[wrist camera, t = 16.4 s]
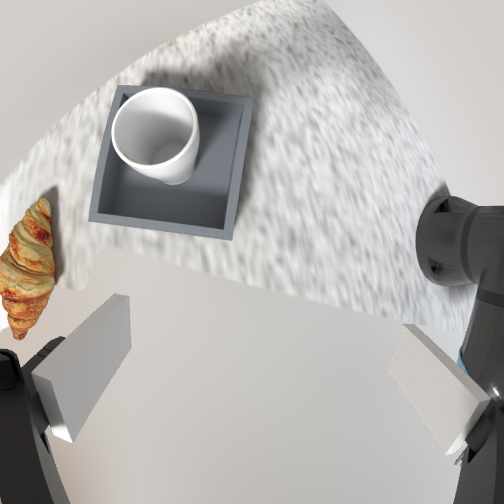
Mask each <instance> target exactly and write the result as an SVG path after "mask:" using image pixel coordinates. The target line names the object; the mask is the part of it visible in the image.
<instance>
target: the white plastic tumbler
mask: <svg viewBox="0 0 504 504" xmlns="http://www.w3.org/2000/svg"><path fill="white" fill-rule="evenodd" d="M111 134H112V142H113V146H114V148H115V150H116V152H117V153H118V155H119V156H120V157H121V158H122V159H123V160H124V161H125V162H126V163H127V164H128V165H129V166H130V167H131V168H133V169H134V170H135V171H137V172H139V173H140V174H142V175H145V176H147V177H150V178H153V179H156V180H159V181H161V182H163V183H165V184H168V185H178V184H181V183H183V182H185V181H187V180H188V179H189V178H190V177H191V176H192V174H193V173H194V170H195V167H196V157H197V153H198V148H199V142H200V130H199V123H198V118H197V114H196V111H195V108H194V106H193V104H192V103H191V102H190V100H189V99H188V98H187V97H186V96H185V95H183V94H182V93H180V92H178V91H176V90H173V89H170V88H164V87H156V88H150V89H146V90H143V91H141V92H138V93H137V94H135V95H133V96H132V97H130V98H129V99H128V100H127V101H126V102H125V103H124V104H123V105H122V106H121V107H120V109H119V110H118V112H117V114H116V116H115V118H114V121H113V125H112V133H111Z"/></svg>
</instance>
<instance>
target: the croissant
mask: <svg viewBox="0 0 504 504" xmlns="http://www.w3.org/2000/svg"><path fill="white" fill-rule="evenodd" d="M50 220H51V206H50V203H49V201H48V200H47V199H46V198H41V199H40V200H39V201H38V202H36V203H35V204H34V206H33V205H32V206H31V207H30V208H29V209H28V210H27V211H26V213H25V216H24V218H23V219H22V221H19V222H18V223H17V224H16V225H15V226H14V228H13V230H12V231H11V233H10V234H9V241H10V242H9V244H8V247H7V248H6V250H5V251H4V253H3V254H2V255H1V256H0V295H1V296H2V305H3V307H4V309H5V310H6V311H7V312H8V317H7V319H8V323H9V325H10V327H11V329H12V331H13V336H14V338H15V339H17V340H22V339H23V338H24V337H25V336H26V334H27V331H28V329H29V328H31V327H32V326H34V325H35V324H36V322H37V320H38V318H39V316H40V315H41V313H42V311H43V309H44V308H45V307H46V305H47V303H48V299H49V296H50V294H51V292H52V290H53V289H54V286H55V280H54V274H55V262H54V260H53V254H52V252H53V251H52V250H51V246H52V245H53V242H52V234H51V230H50V229H51V227H50V225H49V224H50Z"/></svg>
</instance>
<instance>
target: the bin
mask: <svg viewBox="0 0 504 504" xmlns="http://www.w3.org/2000/svg"><path fill="white" fill-rule="evenodd" d="M150 88H156V87H154V86H130V85H118V86H117V89H116V93H115V96H114V99H113V103H112V106H111V109H110V113H109V117H108V120H107V124H106V128H105V132H104V136H103V140H102V145H101V149H100V154H99V159H98V163H97V169H96V174H95V179H94V185H93V191H92V198H91V204H90V212H89V220H88V221H89V222H97V223H105V224H112V225H120V226H128V227H135V228H143V229H150V230H158V231H165V232H172V233H180V234H187V235H195V236H202V237H209V238H216V239H223V240H231V241H232V237H233V230H234V224H235V217H236V210H237V204H238V197H239V191H240V184H241V178H242V171H243V165H244V159H245V153H246V147H247V141H248V135H249V129H250V123H251V117H252V111H253V105H254V99H252V98H246V97H240V96H234V95H228V94H222V93H215V92H207V91H199V90H190V89H180V88H170V89H173V90H176V91H178V92H180V93H182V94H183V95H185V96H186V97H187V98H188V99H189V100H190V102H191V103H192V104H193V106H194V108H195V111H196V114H197V118H198V123H199V130H200V142H199V148H198V153H197V157H196V167H195V170H194V173H193V174H192V176H191V177H190V178H189V179H188V180H187V181H185V182H183V183H181V184H178V185H168V184H165V183H163V182H161V181H159V180H156V179H153V178H150V177H147V176H145V175H142V174H140V173H139V172H137V171H135V170H134V169H133V168H131V167H130V166H129V165H128V164H127V163H126V162H125V161H124V160H123V159H122V158H121V157H120V156H119V155H118V153H117V152H116V150H115V148H114V146H113V142H112V134H111V133H112V125H113V121H114V118H115V116H116V114H117V112H118V110H119V109H120V107H121V106H122V105H123V104H124V103H125V102H126V101H127V100H128V99H129V98H130V97H132V96H133V95H135V94H137V93H138V92H141V91H143V90H146V89H150ZM164 88H168V87H164Z"/></svg>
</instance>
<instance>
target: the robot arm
mask: <svg viewBox="0 0 504 504" xmlns="http://www.w3.org/2000/svg"><path fill="white" fill-rule="evenodd" d="M416 252H417V258H418V262H419V265H420V268H421V270H422V272H423V273H424V275H425V276H426V278H427V279H428V280H430V281H431V282H433V283H435V284H438V285H441V286H445V287H453V286H458V285H464V284H469V283H476V284H478V289H477V294H476V297H475V302H474V306H473V310H472V314H471V318H470V321H469V325H468V328H467V332H466V335H465V338H464V341H463V344H462V346H461V348H460V350H459V357H458V360H457V364H456V363H455V362H454V361H453V360H452V359H451V358H450V357H449V356H447V354H446V353H445V352H444V351H443V350H442V349H440V348H439V347H438V346H437V345H436V344H435V343H434V342H433V341H432V340H431V339H430V338H429V337H428V336H426V335H425V334H424V333H423V332H422V331H421V330H420V329H419V328H418V327H417V326H416V325H414V324H403V325H402V328H401V331H400V334H399V337H398V340H397V343H396V345H395V348H394V351H393V354H392V356H391V359H390V362H389V364H388V367H387V371H388V373H389V374H390V376H391V377H392V378H393V380H394V381H395V382H396V384H397V386H398V387H399V388H400V390H401V391H402V393H403V394H404V396H405V397H406V399H407V400H408V402H409V403H410V405H411V406H412V408H413V409H414V410H415V412H416V413H417V415H418V416H419V418H420V419H421V421H422V422H423V424H424V425H425V427H426V428H427V430H428V431H429V433H430V435H431V436H432V438H433V439H434V441H435V442H436V444H437V445H438V447H439V448H440V450H441V452H442V453H443V454H444V455H447V454H450V453H453V452H456V451H458V449H459V448H460V446H461V445H462V444H463V442H464V441H466V442H467V444H468V446H467V447H466V448H465V450H464V451H463V452H462V454H461V455H460V456H459V458H458V459H457V460H456V462H455V465H457V463H458V462H459V461H460V460H462V463H461V464H460V466H461V472H460V477H459V481H458V486H457V491H456V495H455V499H454V503H453V504H504V206H477V205H475V204H473V203H471V202H468V201H466V200H464V199H461V198H458V197H455V196H444V197H438V198H436V199H434V200H433V201H432V202H430V203H429V204H428V206H427V207H426V208H425V210H424V212H423V213H422V216H421V218H420V221H419V224H418V228H417V234H416ZM129 308H130V306H129V296H125V295H119V294H113V295H112V296H111V297H110V298H109V299H108V300H107V301H106V302H104V304H102V305H101V306H100V307H99V308H98V309H97V310H96V311H95V312H94V313H92V314H91V315H90V316H89V317H88V318H87V319H86V320H85V321H84V322H83V323H82V324H81V325H79V327H77V328H76V329H75V330H74V331H73V332H72V333H71V334H70V335H69V336H68V337H67V338H65V337H61V336H60V337H58V338H55V339H53V340H51V341H49V342H48V343H47V344H46V345H45V346H44V347H43V349H41V350H40V351H39V352H37V355H34V356H33V357H32V358H31V359H30V360H29V361H28V362H27V363H26V364H25V365H24V366H23V367H22V368H21V367H20V364H19V360H18V357H17V355H16V354H15V353H14V352H13V351H11V350H8V349H0V498H1V502H2V504H70V502H69V500H68V497H67V495H66V492H65V490H64V487H63V484H62V482H61V479H60V477H59V474H58V471H57V468H56V465H55V462H54V459H53V456H52V452H51V449H50V445H49V442H48V438H47V436H46V433H45V430H46V428H47V427H48V425H49V424H50V427H51V429H52V431H53V434H54V435H55V436H57V437H60V438H62V439H64V440H67V441H69V442H71V443H73V442H74V440H75V438H76V437H77V435H78V433H79V431H80V430H81V428H82V426H83V424H84V423H85V421H86V420H87V418H88V416H89V414H90V413H91V411H92V410H93V408H94V406H95V405H96V403H97V401H98V400H99V398H100V396H101V395H102V393H103V392H104V390H105V388H106V387H107V385H108V383H109V382H110V380H111V379H112V377H113V376H114V374H115V372H116V371H117V369H118V368H119V366H120V364H121V363H122V361H123V360H124V358H125V357H126V355H127V354H128V352H129V351H130V349H131V335H130V309H129Z"/></svg>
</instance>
